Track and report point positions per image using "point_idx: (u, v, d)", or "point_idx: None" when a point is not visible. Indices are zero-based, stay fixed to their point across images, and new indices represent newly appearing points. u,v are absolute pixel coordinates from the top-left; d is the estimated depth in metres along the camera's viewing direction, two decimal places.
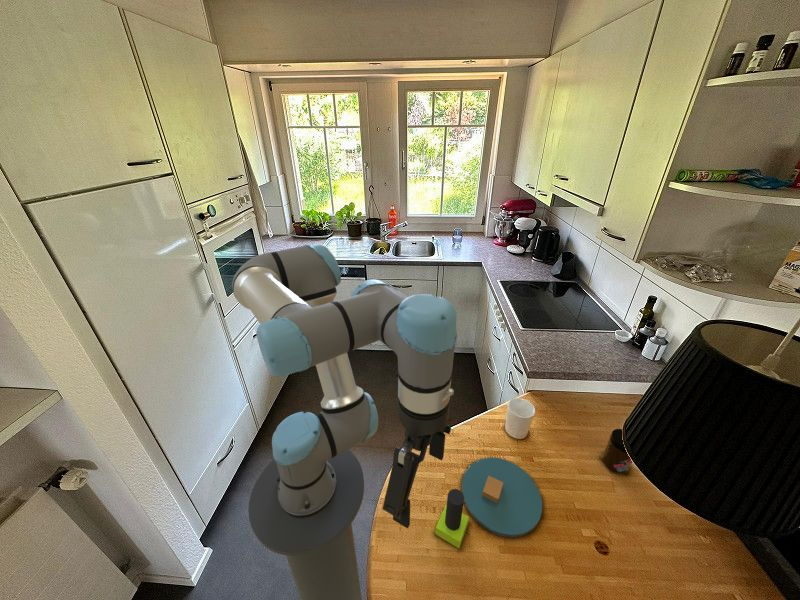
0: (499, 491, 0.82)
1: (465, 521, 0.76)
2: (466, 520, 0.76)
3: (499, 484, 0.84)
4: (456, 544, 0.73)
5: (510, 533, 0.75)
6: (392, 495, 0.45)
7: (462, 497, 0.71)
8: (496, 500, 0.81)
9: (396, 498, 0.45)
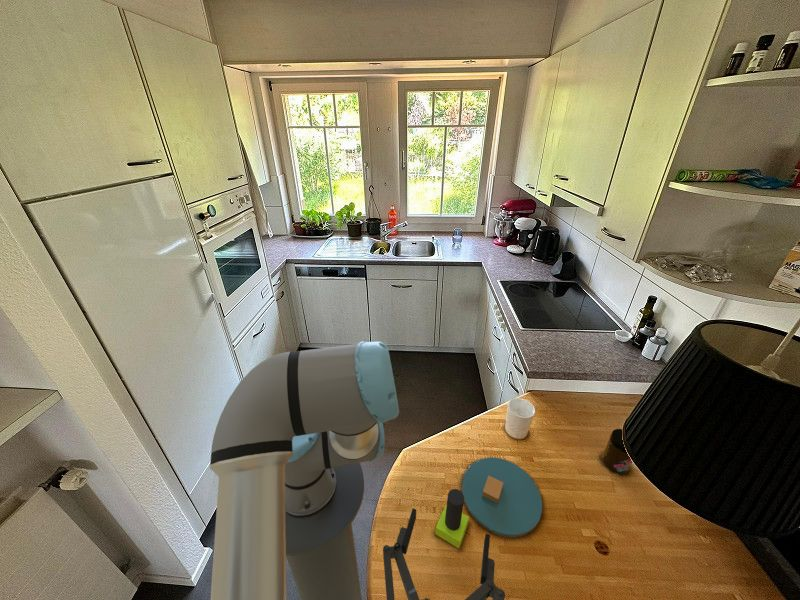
0: (499, 491, 0.82)
1: (465, 521, 0.76)
2: (466, 520, 0.76)
3: (499, 484, 0.84)
4: (456, 544, 0.73)
5: (510, 533, 0.75)
6: (384, 568, 0.54)
7: (462, 497, 0.71)
8: (496, 500, 0.81)
9: (384, 570, 0.54)
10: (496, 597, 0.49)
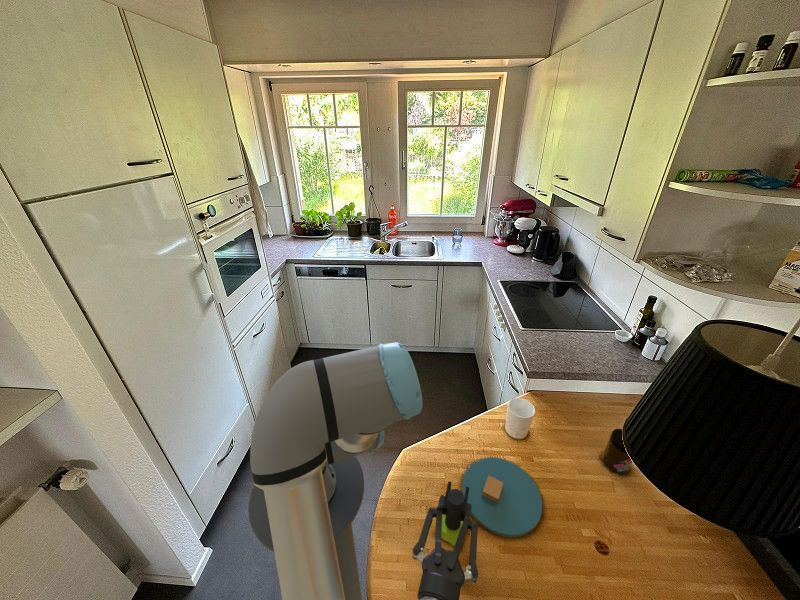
0: (499, 491, 0.82)
1: None
2: None
3: (499, 484, 0.84)
4: None
5: (510, 533, 0.75)
6: (425, 522, 0.71)
7: (462, 497, 0.71)
8: (496, 500, 0.81)
9: None
10: (473, 529, 0.69)
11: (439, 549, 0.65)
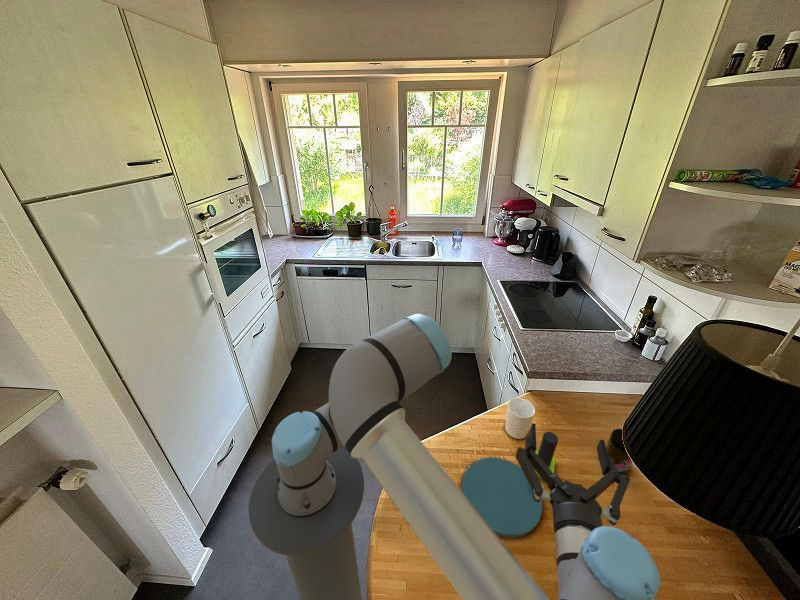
0: None
1: (553, 461, 0.89)
2: (554, 460, 0.90)
3: None
4: None
5: (510, 533, 0.75)
6: (522, 463, 0.65)
7: (556, 437, 0.84)
8: None
9: (521, 465, 0.65)
10: (623, 479, 0.61)
11: (561, 482, 0.60)
